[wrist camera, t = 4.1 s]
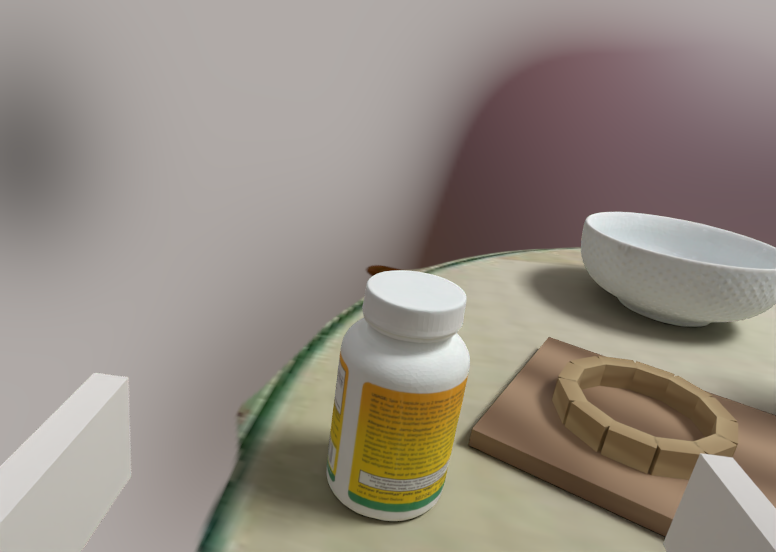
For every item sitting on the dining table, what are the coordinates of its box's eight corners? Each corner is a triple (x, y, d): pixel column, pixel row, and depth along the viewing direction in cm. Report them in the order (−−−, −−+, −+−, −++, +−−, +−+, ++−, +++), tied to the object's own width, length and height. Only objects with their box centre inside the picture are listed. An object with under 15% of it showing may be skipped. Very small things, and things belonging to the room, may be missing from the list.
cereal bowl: (670, 275, 61) (691, 213, 59) (813, 351, 47) (849, 272, 44) (535, 272, 56) (551, 204, 54) (646, 355, 42) (676, 267, 39)
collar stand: (545, 349, 40) (553, 318, 39) (770, 429, 34) (785, 394, 33) (468, 445, 29) (477, 403, 28) (786, 593, 22) (811, 546, 21)
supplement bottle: (302, 469, 25) (320, 273, 22) (388, 430, 29) (415, 256, 26) (379, 548, 22) (415, 330, 18) (467, 492, 25) (511, 300, 22)
